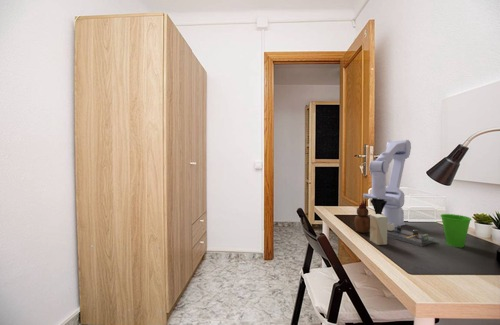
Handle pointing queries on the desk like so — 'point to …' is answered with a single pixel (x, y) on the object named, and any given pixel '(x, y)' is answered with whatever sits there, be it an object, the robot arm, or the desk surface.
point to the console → (410, 236)
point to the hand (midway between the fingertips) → (378, 215)
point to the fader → (390, 226)
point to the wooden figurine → (362, 218)
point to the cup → (455, 229)
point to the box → (378, 229)
